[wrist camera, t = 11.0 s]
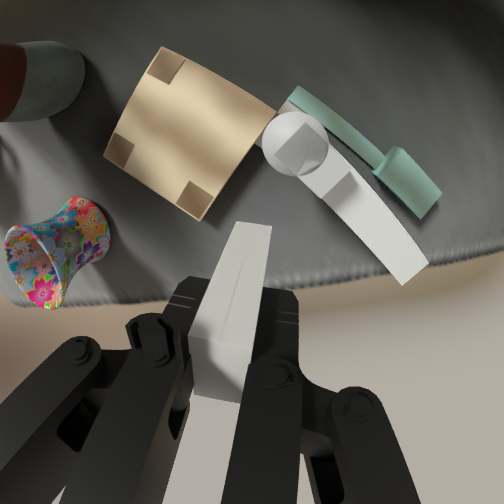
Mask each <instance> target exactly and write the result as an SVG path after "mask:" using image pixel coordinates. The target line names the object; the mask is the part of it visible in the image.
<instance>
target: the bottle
mask: <svg viewBox="0 0 504 504" xmlns="http://www.w3.org/2000/svg"><path fill="white" fill-rule="evenodd" d="M84 76H85V62H84V60H83V57H82V55H81V54H80V53H79V52H77V51H76V50H75V49H73V48H72V47H70V46H68V45H65V44H62V43H59V42H54V41H36V42H26V43H18V44H12V43H4V42H0V122H21V121H35V120H40V119H43V118H46V117H49V116H52V115H54V114H56V113H58V112H60V111H62V110H64V109H65V108H67V107H68V106H69V105H70V104H71V103H72V102H73V101H74V100H75V99H76V97H77V95H78V94H79V92H80V90H81V87H82V84H83V82H84Z"/></svg>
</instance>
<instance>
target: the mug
mask: <svg viewBox="0 0 504 504" xmlns="http://www.w3.org/2000/svg"><path fill="white" fill-rule="evenodd" d="M109 247H110V230H109V226H108V223H107V220H106V218H105V216H104V215H103V213H102V211H101V210H100V209H99V208H98V207H97V206H96V205H95V204H94V203H93V202H92V201H90V200H88V199H86V198H83V197H72V198H70V199H68V200H67V201H65V202H64V204H63V205H62V207H61V209H60V210H59V211H58V213H57V214H55V215H54V216H53V217H51V218H50V219H48V220H46V221H43V222H41V223H37V224H33V225H17V226H14V227H12V228H11V229H10V230H9V231H8V232H7V234H6V238H5V256H6V260H7V264H8V267H9V269H10V272H11V274H12V276H13V278H14V280H15V281H16V283H17V285H18V286H19V288H20V289H21V290H22V291H23V293H24V294H25V295H26V296H27V297H28V298H29V299H30V300H31V301H32V302H34V303H35V304H37V305H38V306H40V307H42V308H45V309H48V310H54V309H57V308H59V307H60V306H61V304H62V303H63V301H64V297H65V294H66V291H67V288H68V286H69V284H70V282H71V280H72V278H73V277H74V275H75V274H76V273H77V272H78V270H79V269H80V268H82V267H83V266H84V265H86V264H88V263H90V262H96V261H99V260H101V259H102V258H104V256H105V255H106V254H107V252H108V250H109Z"/></svg>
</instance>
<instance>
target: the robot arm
mask: <svg viewBox="0 0 504 504" xmlns="http://www.w3.org/2000/svg"><path fill="white" fill-rule="evenodd" d="M271 230H272V226H267V225H260V224H253V223H246V222H239V221H236V224H235V226H234V228H233V230H232V233H231V235H230V237H229V239H228V242H227V244H226V246H225V248H224V251H223V253H222V255H221V258H220V260H219V262H218V265H217V267H216V269H215V272H214V274H213V276H212V279H211V280H209V279H203V278H197V277H192V276H189V277H187V278H186V279H185V280H183V281H182V282H181V283H179V284H178V286H177V288H176V290H175V291H174V293H173V296H172V297H171V298H170V300H169V303H168V304H167V306H166V308H165V310H164V311H163V313H162V314H161V313H146V314H141V315H139V316H137V317H135V318H133V319H131V320H130V321H129V322H128V323H127V325H125V327H126V330H127V334H128V337H129V341H130V344H131V347H132V349H128V350H101V348H100V345H99V344H98V343H97V342H96V341H95V340H94V339H92V338H90V337H87V336H77V337H73V338H70V339H69V340H67V341H66V342H64V343H63V344H62V345H61V346H60V347H58V348H57V349H56V350H55V351H54V352H53V353H52V354H51V355H50V356H49V357H48V358H47V359H46V360H45V361H43V363H42V364H40V365H39V366H38V367H37V368H36V369H35V370H34V371H33V372H32V373H31V374H30V375H29V376H28V377H27V378H26V379H25V380H24V381H23V382H22V383H21V384H20V385H19V386H18V387H17V388H16V389H15V390H14V391H13V392H12V393H11V394H10V395H9V396H8V397H7V398H6V399H5V400H4V401H3V402H2V403H1V404H0V504H51V503H52V502H53V500H54V499H55V498H56V497H57V496H58V494H59V493H60V492H61V491H62V489H63V488H64V487H65V486H66V487H65V489H64V492H63V494H62V497H61V500H60V502H59V504H162V502H163V498H164V495H165V491H166V488H167V485H168V481H169V478H170V474H171V471H172V468H173V464H174V461H175V457H176V454H177V450H178V447H179V444H180V440H181V437H182V434H183V431H184V427H185V424H186V421H187V417H188V414H189V411H190V402H189V399H190V395H191V392H192V389H194V394H195V395H199V396H204V397H209V398H214V399H219V400H224V401H229V402H235V403H241V404H240V409H239V414H238V420H237V425H236V430H235V435H234V440H233V446H232V451H231V456H230V461H229V466H228V471H227V475H226V480H225V485H224V490H223V495H222V500H221V504H297V492H298V480H299V464H300V453H302V454H303V455H304V459H305V463H306V468H307V472H308V476H309V481H310V485H311V489H312V494H313V498H314V502H315V504H421V503H420V500H419V497H418V494H417V491H416V488H415V486H414V483H413V480H412V477H411V474H410V472H409V469H408V467H407V464H406V461H405V459H404V456H403V453H402V451H401V448H400V446H399V443H398V441H397V438H396V436H395V433H394V431H393V429H392V426H391V424H390V421H389V419H388V417H387V414H386V412H385V410H384V407H383V405H382V403H381V401H380V400H379V398H378V397H377V396H376V395H375V394H374V393H373V392H371V391H370V390H368V389H365V388H362V387H347V388H345V389H342V390H340V391H339V392H338V393H336V392H333V391H331V390H328V389H325V388H322V387H320V386H317V385H315V384H313V383H312V382H311V381H309V380H308V379H307V378H306V377H305V376H304V374H302V371H301V369H300V367H299V361H298V349H299V348H298V347H299V346H298V345H299V341H298V339H299V325H298V323H299V319H298V318H299V316H298V314H299V312H298V310H299V308H298V307H299V305H298V300H297V298H296V297H295V295H294V293H293V292H292V291H287V290H280V289H273V288H267V287H263V284H264V278H265V271H266V264H267V257H268V251H269V244H270V237H271Z"/></svg>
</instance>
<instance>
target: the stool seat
mask: <svg viewBox="0 0 504 504" xmlns="http://www.w3.org/2000/svg"><path fill="white" fill-rule="evenodd" d="M287 112H302V113H306V114H308V115H310V116H312V117H314V118H315V119H316V120H318V121H319V122H320V123H321V124H322V126H323V127H325V128H327V129H328V130H329V131H331V132H332V133H333V134H334V135H336V136H337V137H338V138H339V139H340V140H342V141H343V142H344V143H345V144H346V145H348V146H349V147H350V148H351V149H352V150H353V151H355V152H356V153H357V154H358V155H359V156H360V157H361V158H363V159H364V160H365V161H366V162H367V163H368V164H369V165H370V166H371V167H373V168H374V169H373V170H372V173H373V174H374V175H375V176H376V177H377V178H378V179H379V180H381V181H382V182H383V183H384V184H385V185H386V186H387V187H388V188H389V189H390V190H391V191H392V192H393V193H394V194H395V195H396V196H397V197H398V198H399V199H400V200H401V201H402V202H403V203H404V204H405V205H406V206H407V207H408V208H409V210H410V211H411V212H413V213H414V214H415V215H416V216H417V217H418V218H419V219H420V220H421V219H422V217H423V216H424V215H425V214H426V213H427V212H428V210H429V209H430V208H431V207H432V206H433V204H434V203H435V202H436V201H437V200H438V198H439V197H440V196H441V195H442V193H441V191H440V190H439V189H438V188H437V187H436V185H435V184H434V183H433V182H432V181H431V179H430V178H429V177H428V176H427V175H426V174H425V172H424V171H423V170H422V169H421V168H420V167H419V166H418V165H417V164H416V162H415V161H414V160H413V159H412V158H411V157H410V156H409V155H408V154H407V153H406V152H405V151H404V150H403V149H402V148H399V147H396V146H392V147H391V148H390V150H389V151H388V152H387V153H386V154H385V156H384V155H383V154H382V153H381V152H380V151H379V150H378V149H377V148H376V147H375V146H374V145H373V144H372V143H370V142H369V141H368V140H367V139H366V138H365V137H364V136H363V135H361V134H360V133H359V132H358V131H357V130H356V129H355V128H353V127H352V126H351V125H350V124H349V123H347V122H346V121H345V120H344V119H343V118H341V117H340V116H339V115H338V114H336V113H335V112H334V111H333V110H331V109H330V108H329V107H327V106H326V105H325V104H324V103H322V102H321V101H320V100H318V99H317V98H316V97H314V96H313V95H311V94H310V93H309V92H307V91H306V90H304V89H303V88H302V87H300V86H299V85H298V86H297V88H296V89H295V90H294V91H293V93H292V94H291V95H290V96H289V98H288V99H287V101H286V102H285V103H284V104H283V106H282V107H281V108H280V110H279V111H278V112H276V111H275V110H273V109H272V108H271V107H269V106H268V105H266V104H265V103H263V102H261V101H260V100H258V99H257V98H255V97H254V96H252V95H251V94H249V93H247V92H246V91H244V90H243V89H241V88H239V87H238V86H236V85H234V84H233V83H231V82H229V81H227V80H226V79H224V78H222V77H221V76H219V75H217V74H215V73H213V72H212V71H210V70H208V69H206V68H204V67H202V66H201V65H199V64H197V63H195V62H193V61H191V60H189V59H187V58H185V57H183V56H181V55H179V54H177V53H175V52H173V51H171V50H168V49H166V48H164V47H161V48H160V50H159V51H158V53H157V54H156V56H155V57H154V59H153V60H152V62H151V64H150V65H149V67H148V68H147V70H146V72H145V73H144V75H143V77H142V78H141V80H140V82H139V84H138V85H137V87H136V89H135V91H134V93H133V94H132V96H131V98H130V100H129V102H128V104H127V106H126V108H125V109H124V111H123V113H122V115H121V117H120V119H119V122H118V124H117V126H116V128H115V130H114V132H113V134H112V136H111V139H110V141H109V143H108V145H107V148H106V150H105V152H104V155H103V157H105V158H106V159H108V160H109V161H111V162H112V163H114V164H115V165H117V166H118V167H119V168H121V169H122V170H124V171H125V172H127V173H128V174H130V175H131V176H133V177H134V178H136V179H137V180H139V181H140V182H142V183H143V184H145V185H146V186H147V187H149V188H150V189H152V190H153V191H155V192H156V193H158V194H159V195H161V196H162V197H164V198H165V199H167V200H168V201H170V202H171V203H173V204H174V205H176V206H177V207H179V208H180V209H182V210H183V211H185V212H186V213H187V214H189V215H190V216H192V217H193V218H195V219H196V220H198V221H199V222H200V221H201V219H202V218H203V217H204V215H205V214H206V213H207V211H208V210H209V208H210V206H211V205H212V203H213V202H214V200H215V199H216V197H217V196H218V195H219V193H220V192H221V190H222V189H223V187H224V186H225V184H226V183H227V181H228V180H229V178H230V177H231V176H232V174H233V173H234V171H235V170H236V168H237V167H238V165H239V164H240V163H241V161H242V160H243V158H244V157H245V156H246V154H247V153H248V151H249V150H250V149H251V147H252V146H253V144H254V143H255V144H256V145H258V146H259V147H260V148H262V138H263V134H264V131H265V129H266V127H267V125H268V124H269V123H270V122H271V121H272V120H273V119H274V118H276V117H277V116H279V115H281V114H284V113H287Z"/></svg>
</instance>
